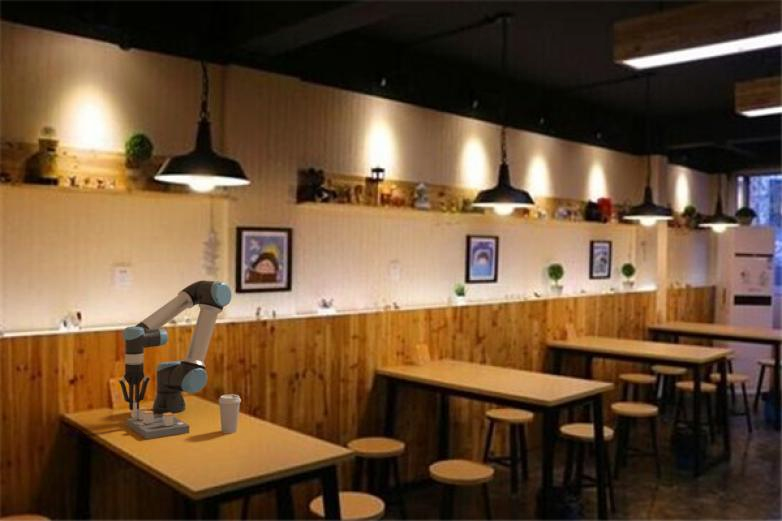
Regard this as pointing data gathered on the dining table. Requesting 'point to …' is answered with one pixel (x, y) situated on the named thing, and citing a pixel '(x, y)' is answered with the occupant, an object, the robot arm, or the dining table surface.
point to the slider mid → (148, 417)
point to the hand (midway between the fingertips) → (134, 416)
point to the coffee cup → (229, 412)
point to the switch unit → (157, 427)
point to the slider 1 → (141, 412)
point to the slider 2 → (167, 419)
